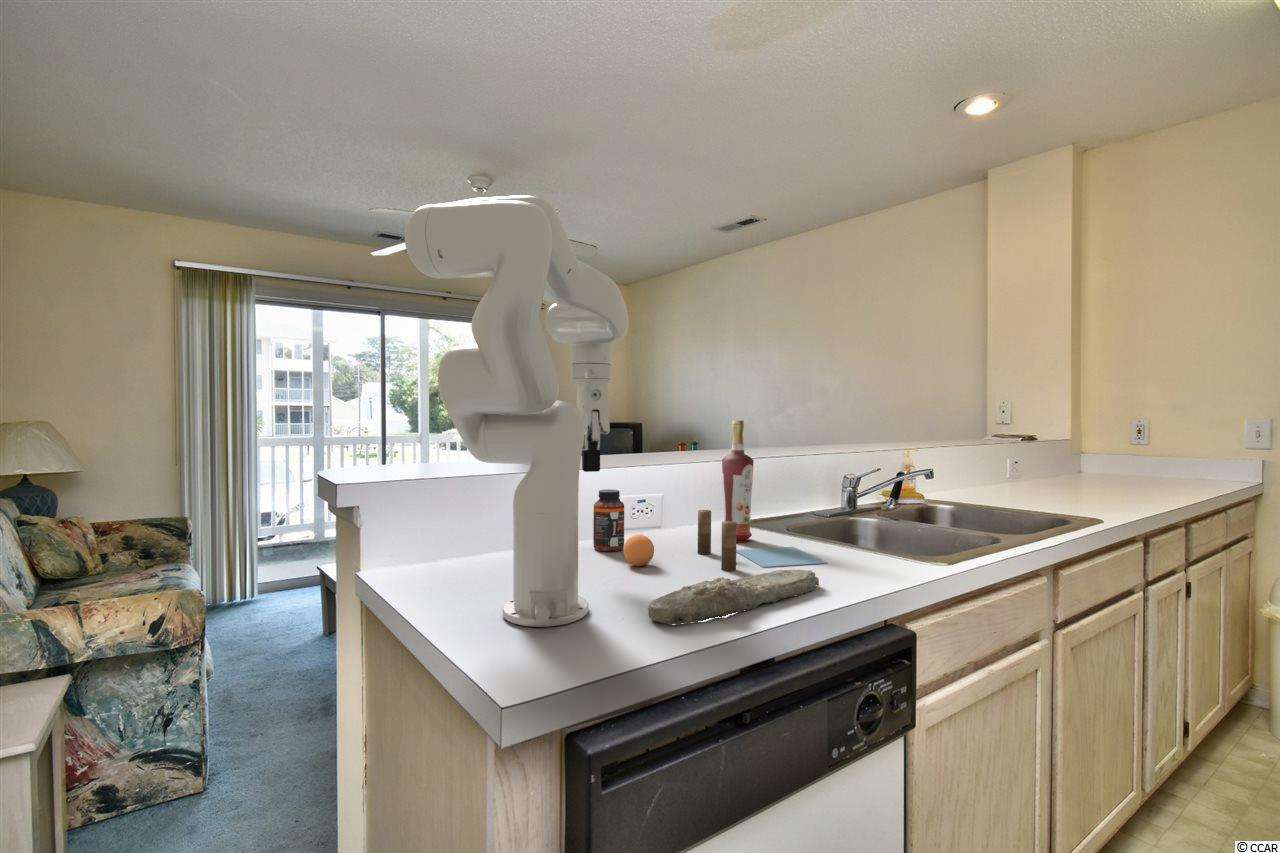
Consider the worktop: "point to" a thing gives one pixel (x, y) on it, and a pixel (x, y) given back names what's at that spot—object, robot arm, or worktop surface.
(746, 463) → the liquor
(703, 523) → the post
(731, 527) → the post
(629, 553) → the ball
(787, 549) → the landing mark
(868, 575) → the worktop surface
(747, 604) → the long grey stone
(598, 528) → the supplement bottle
